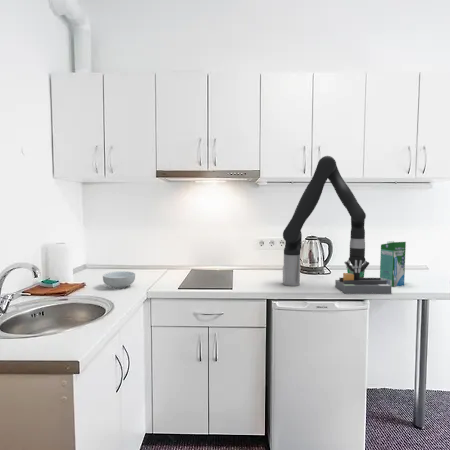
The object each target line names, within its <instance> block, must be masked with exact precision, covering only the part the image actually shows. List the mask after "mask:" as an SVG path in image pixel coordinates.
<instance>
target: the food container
mask: <svg viewBox="0 0 450 450" xmlns="http://www.w3.org/2000/svg"><path fill="white" fill-rule="evenodd" d="M350 266H351V267H352V264H350ZM362 266H363V264H362V265H361V267H362ZM345 268H346V270H347V272H346V273H351V274H353V272H352V271H350V270H349V268H348V267H347V266H346V267H345ZM352 268H353V267H352ZM365 270H366V269H365ZM365 270H364V271H363V272H360V278H365Z"/></svg>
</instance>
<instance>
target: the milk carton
mask: <svg viewBox="0 0 450 450" xmlns="http://www.w3.org/2000/svg"><path fill="white" fill-rule="evenodd" d="M406 243H407V242H406V241H395V240H391V241H387V242H386V243H382V244H380V262H379V263H380V264H379V265H380V266H379V278H381V280H386V281H387V284H388V285H390V286H392V287H402V286H405V272H406V249H407V248H406V247H407V245H406Z"/></svg>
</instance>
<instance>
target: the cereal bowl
mask: <svg viewBox="0 0 450 450" xmlns="http://www.w3.org/2000/svg"><path fill="white" fill-rule="evenodd" d="M135 279H136V273H135V272H134V271H125V270H124V271H121V270H120V271H119V270H118V271H110V272H107V273H104V274H103V275H102V281H103V283H104V284H105V286H108V287H111V288H112V289H116V290H117V289H124V288H127V287H128V286H130V285H132V284H133V283H134V282H135Z"/></svg>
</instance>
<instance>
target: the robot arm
mask: <svg viewBox="0 0 450 450" xmlns="http://www.w3.org/2000/svg"><path fill="white" fill-rule="evenodd" d="M327 180H328V181H329V182H330V184H331V185H332V187H333V189H334V191H335V192H336V195H337V197H338V199H339V200H340V202H341V204H342V205H343V207H345V210H346V211H347V212H348V214H349V216H350V222H351V223H350V225H351V227H350V237H349V238H350V240H349V257H348V260H347V261H344V265H345V266H346V267H348V268H349V270H350V271H352V272H353V275H354V279H355V280H358V279H359V278H360V272H363V271H364V270H366V269H367V268H368V266H369V265H370V262H369V261H367V260H366V258H365V257H366V236H365V235H366V231H365V221H366V217H367V214H366V212H365V210H364V209H363V208H362V206H361V204H359V202H358V199H357V198H356V196H355V194H354V193H353V192H352V190H351V188H350V187H349V185H348V184H347V183H346V181H345V180H344V178H343V176H342V175H341V173H340V170H339V168H338V166H337V161H336V159H335V158H334V157H333V156H331V155H325V156H322V157H321V158H320V159H319V161H318V163H317V165H316V168H315V170H314V173H313V175H312V177H311V179H310V180H309V183H308V184H307V186H306V188H305V189H304V191H303V193H302V194H301V197H300V198H299V202H298V203H297V205H296V208H295V209H294V212H293V215H292V217H291V219H290V220H289V221H288V223H287V225H286V227H284V229H283V232H282V238H283V240H284V241H285V242H284V243H285V244H284V249H283V266H282V284H283V285H284V286H288V287H289V286H290V287H296V286H300V285H301V284H300V283H301V251H302V239H303V238H302V237H303V235H302V228H303V226H304V225H305V223H306V221H307V220H308V218H309V217H310V216H311V215H312V213H313V212H314V210H315V209H316V206H317V205H318V203H319V201H320V199H321V196H322V193H323V189H324V187H325V184H326V182H327ZM350 265H352V267H353V268H352V267H351V266H350ZM361 265H363V266H362V267H361Z"/></svg>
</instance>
